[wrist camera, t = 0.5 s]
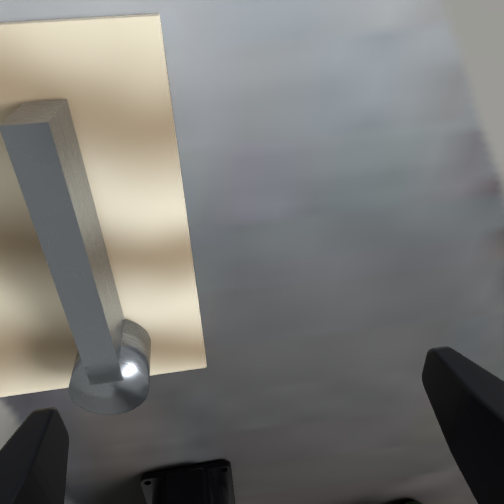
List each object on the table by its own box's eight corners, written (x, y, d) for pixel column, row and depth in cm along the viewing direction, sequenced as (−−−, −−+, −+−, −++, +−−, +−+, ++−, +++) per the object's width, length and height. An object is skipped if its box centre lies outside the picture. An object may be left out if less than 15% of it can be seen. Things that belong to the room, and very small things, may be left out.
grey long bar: (156, 363, 24) (154, 408, 22) (89, 372, 24) (79, 420, 21) (95, 96, 16) (82, 119, 14) (-6, 103, 16) (-38, 129, 14)
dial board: (205, 354, 26) (207, 369, 25) (-100, 398, 24) (-112, 416, 23) (159, 13, 16) (158, 16, 15) (-358, 42, 15) (-397, 48, 14)
